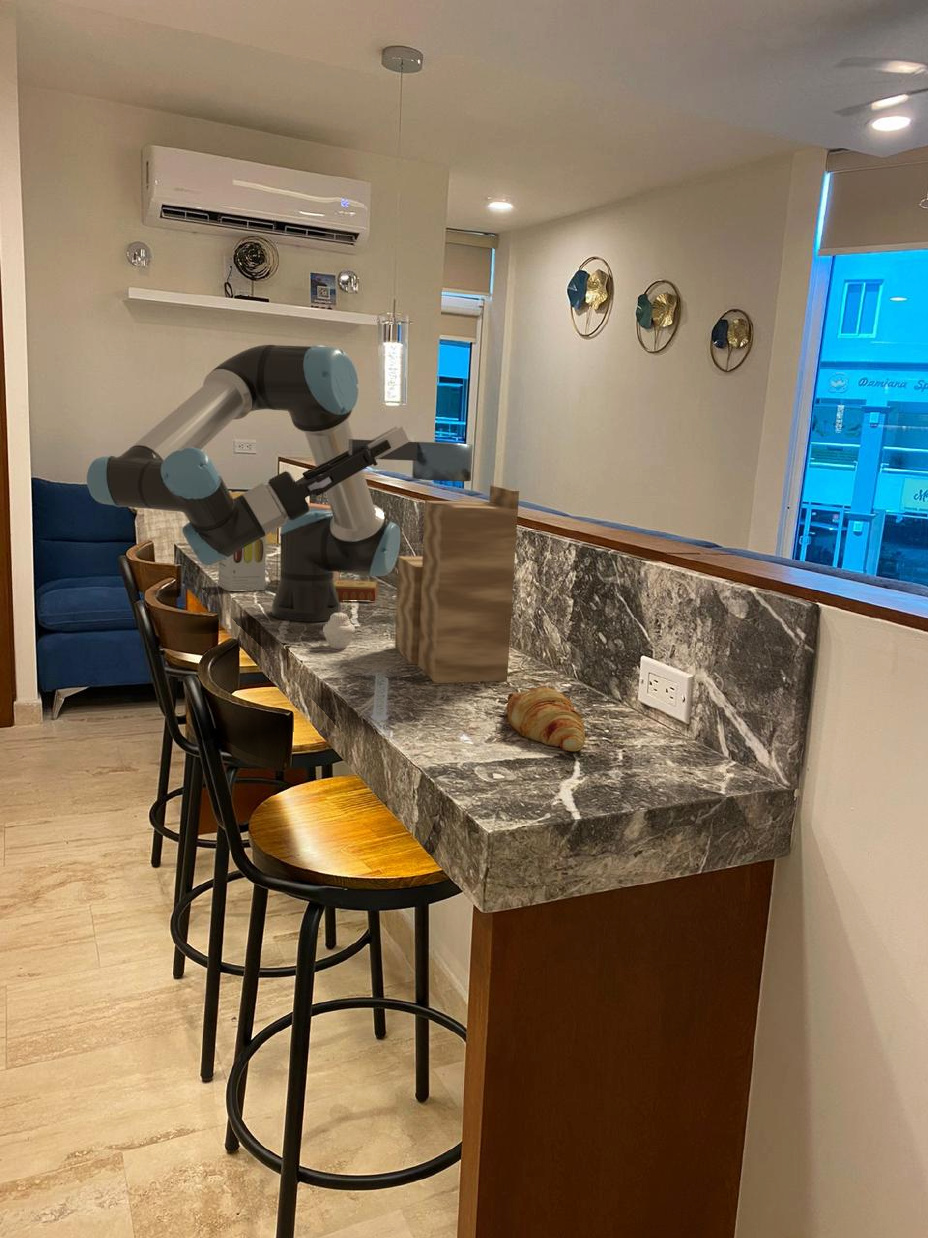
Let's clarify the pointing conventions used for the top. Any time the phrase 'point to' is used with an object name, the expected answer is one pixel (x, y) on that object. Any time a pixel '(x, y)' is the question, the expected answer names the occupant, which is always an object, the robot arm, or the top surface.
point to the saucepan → (429, 459)
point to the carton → (356, 590)
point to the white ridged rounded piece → (338, 631)
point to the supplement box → (244, 568)
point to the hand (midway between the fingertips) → (402, 433)
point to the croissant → (546, 718)
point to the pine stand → (460, 590)
